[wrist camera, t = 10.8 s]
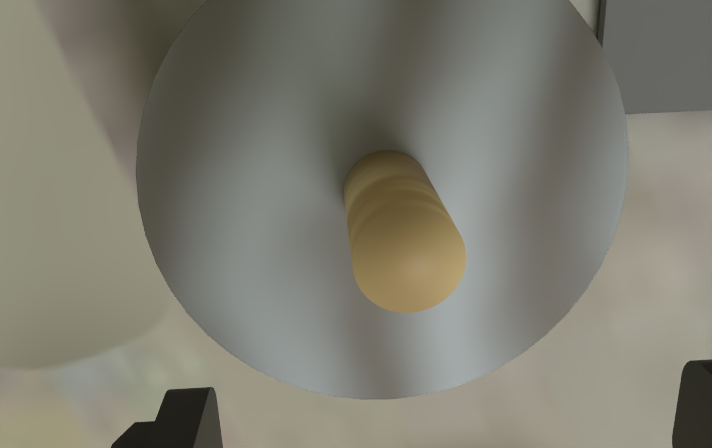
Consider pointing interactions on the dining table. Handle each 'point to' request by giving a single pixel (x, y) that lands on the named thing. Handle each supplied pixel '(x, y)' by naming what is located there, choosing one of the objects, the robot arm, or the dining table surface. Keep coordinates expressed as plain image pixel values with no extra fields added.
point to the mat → (659, 53)
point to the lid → (381, 183)
